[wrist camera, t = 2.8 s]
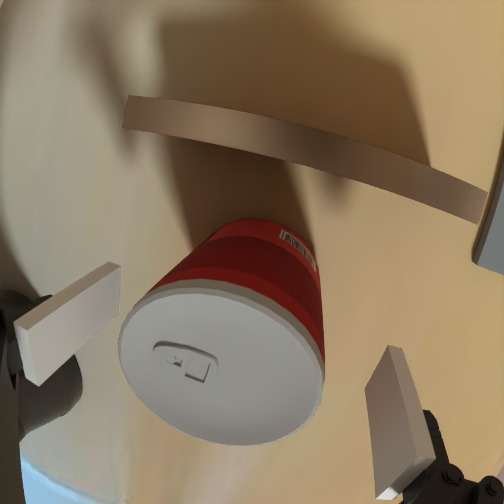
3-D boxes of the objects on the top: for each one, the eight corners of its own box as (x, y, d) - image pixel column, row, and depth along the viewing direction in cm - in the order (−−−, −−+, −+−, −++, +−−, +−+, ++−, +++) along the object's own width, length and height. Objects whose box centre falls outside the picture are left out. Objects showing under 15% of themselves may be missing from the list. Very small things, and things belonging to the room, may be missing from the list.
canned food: (200, 211, 21) (102, 272, 10) (326, 222, 20) (345, 302, 9) (200, 317, 23) (132, 424, 13) (312, 330, 22) (307, 458, 12)
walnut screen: (180, 132, 19) (121, 127, 13) (185, 110, 19) (128, 95, 12) (426, 199, 18) (477, 225, 11) (432, 177, 17) (488, 192, 11)
